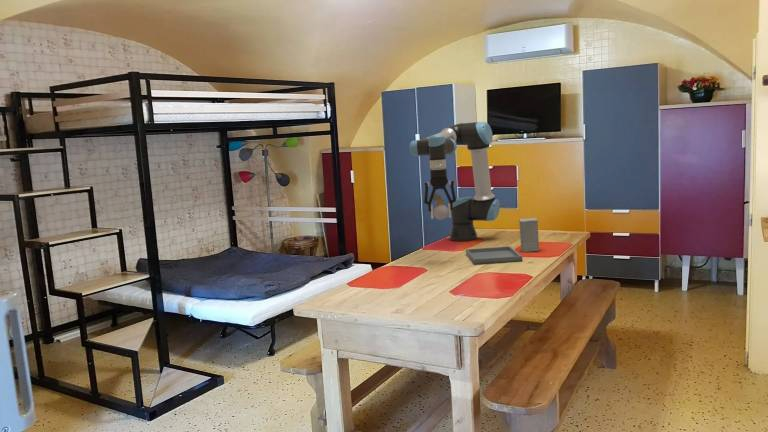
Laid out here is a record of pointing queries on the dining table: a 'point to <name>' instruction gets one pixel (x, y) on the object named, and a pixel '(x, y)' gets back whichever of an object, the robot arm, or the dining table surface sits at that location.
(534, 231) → the skincare box
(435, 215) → the perfume bottle
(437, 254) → the dining table surface
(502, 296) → the dining table surface
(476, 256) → the tray
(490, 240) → the dining table surface
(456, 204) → the robot arm
